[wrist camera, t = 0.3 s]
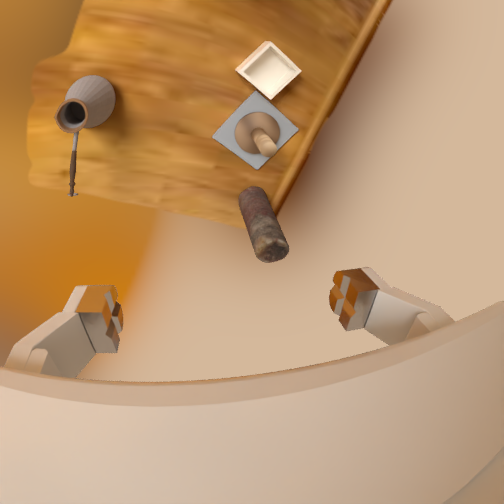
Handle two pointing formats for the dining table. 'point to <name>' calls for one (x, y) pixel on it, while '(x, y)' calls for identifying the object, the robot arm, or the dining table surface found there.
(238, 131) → the lid
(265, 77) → the dish
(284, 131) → the mat
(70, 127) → the coffee pot
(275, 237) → the candle
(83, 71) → the dining table surface
